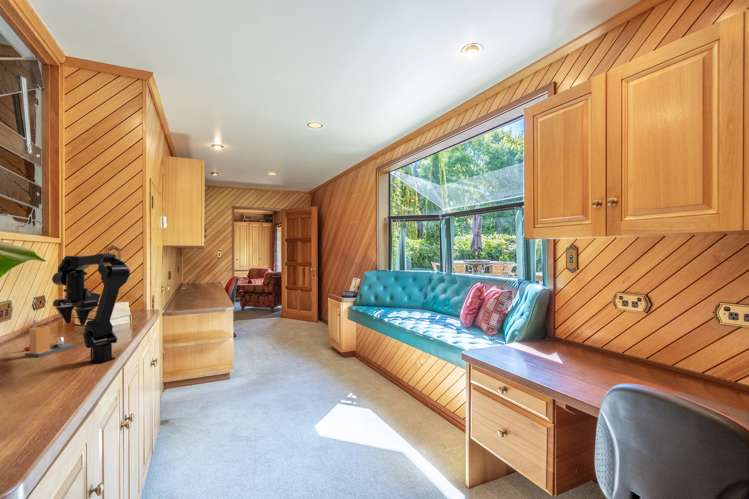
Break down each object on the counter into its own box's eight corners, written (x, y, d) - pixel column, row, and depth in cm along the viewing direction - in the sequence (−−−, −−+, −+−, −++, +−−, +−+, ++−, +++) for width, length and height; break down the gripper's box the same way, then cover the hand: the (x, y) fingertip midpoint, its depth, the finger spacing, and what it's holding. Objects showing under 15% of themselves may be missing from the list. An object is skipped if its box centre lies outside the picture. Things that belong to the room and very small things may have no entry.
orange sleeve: (50, 349, 146) (50, 327, 146) (36, 352, 142) (36, 329, 142) (43, 348, 148) (43, 326, 148) (29, 351, 144) (29, 328, 144)
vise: (74, 347, 155) (74, 336, 155) (38, 357, 141) (38, 344, 141) (61, 346, 157) (61, 335, 157) (24, 356, 143) (24, 343, 143)
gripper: (111, 285, 147) (111, 322, 147) (83, 283, 153) (83, 319, 154) (81, 287, 137) (81, 327, 137) (52, 286, 143) (52, 324, 143)
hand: (75, 324), depth 143 cm, fingers open, 9 cm apart
